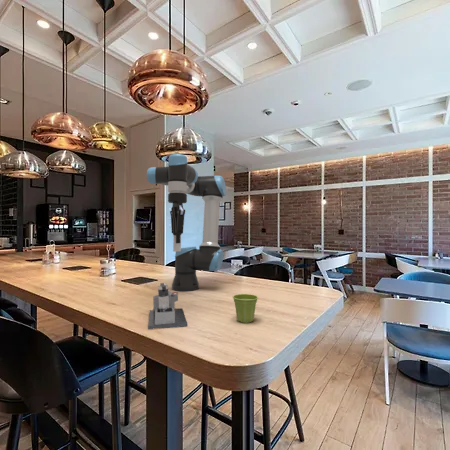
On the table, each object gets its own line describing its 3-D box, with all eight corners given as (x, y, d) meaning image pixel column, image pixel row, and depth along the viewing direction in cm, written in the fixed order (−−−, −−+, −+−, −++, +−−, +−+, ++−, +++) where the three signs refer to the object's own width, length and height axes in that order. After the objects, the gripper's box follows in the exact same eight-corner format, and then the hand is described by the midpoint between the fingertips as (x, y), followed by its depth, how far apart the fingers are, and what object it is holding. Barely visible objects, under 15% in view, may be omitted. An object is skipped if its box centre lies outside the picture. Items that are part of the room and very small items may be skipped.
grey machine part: (167, 303, 120) (167, 278, 120) (184, 305, 118) (185, 279, 118) (149, 314, 105) (149, 284, 105) (168, 316, 103) (169, 286, 103)
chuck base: (182, 310, 114) (182, 298, 114) (187, 326, 96) (187, 311, 96) (149, 312, 111) (149, 300, 111) (148, 329, 93) (148, 314, 93)
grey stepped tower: (168, 317, 101) (166, 282, 101) (171, 323, 96) (169, 285, 96) (158, 319, 100) (157, 283, 100) (160, 324, 95) (158, 287, 94)
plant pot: (231, 316, 107) (231, 293, 107) (255, 316, 108) (255, 293, 108) (234, 324, 98) (234, 300, 98) (260, 324, 99) (260, 299, 99)
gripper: (191, 191, 109) (191, 252, 109) (181, 195, 121) (180, 249, 121) (173, 190, 106) (172, 252, 106) (164, 194, 118) (163, 250, 117)
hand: (177, 251), depth 113 cm, fingers closed
